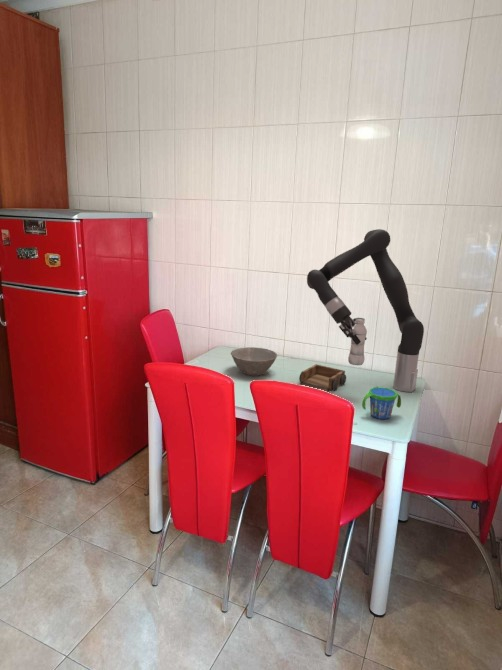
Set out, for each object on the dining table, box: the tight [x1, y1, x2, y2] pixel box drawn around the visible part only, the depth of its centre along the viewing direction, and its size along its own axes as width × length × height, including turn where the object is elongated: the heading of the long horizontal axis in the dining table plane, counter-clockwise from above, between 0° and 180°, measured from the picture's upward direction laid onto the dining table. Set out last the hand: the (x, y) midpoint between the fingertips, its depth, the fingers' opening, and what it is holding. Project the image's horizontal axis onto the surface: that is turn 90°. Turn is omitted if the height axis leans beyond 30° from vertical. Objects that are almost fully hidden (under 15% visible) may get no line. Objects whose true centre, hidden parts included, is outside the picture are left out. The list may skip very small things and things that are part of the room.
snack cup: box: [361, 386, 402, 420], centre depth 181 cm, size 16×10×10 cm
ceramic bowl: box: [230, 346, 278, 377], centre depth 225 cm, size 22×23×10 cm
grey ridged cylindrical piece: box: [347, 317, 368, 366], centre depth 193 cm, size 6×7×20 cm
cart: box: [298, 363, 347, 393], centre depth 213 cm, size 20×17×6 cm
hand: (361, 341), depth 192 cm, fingers closed on grey ridged cylindrical piece, 6 cm apart
